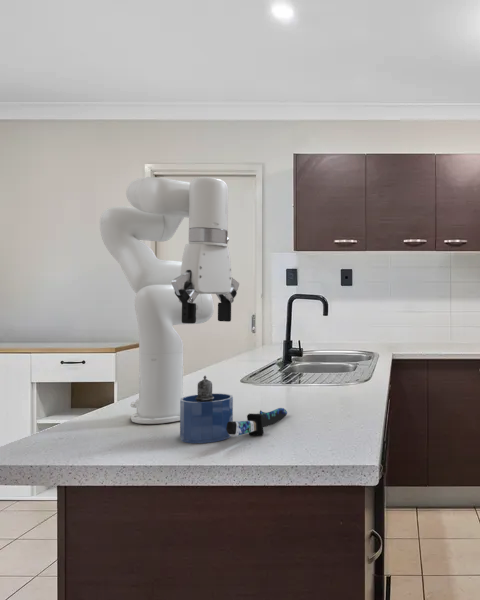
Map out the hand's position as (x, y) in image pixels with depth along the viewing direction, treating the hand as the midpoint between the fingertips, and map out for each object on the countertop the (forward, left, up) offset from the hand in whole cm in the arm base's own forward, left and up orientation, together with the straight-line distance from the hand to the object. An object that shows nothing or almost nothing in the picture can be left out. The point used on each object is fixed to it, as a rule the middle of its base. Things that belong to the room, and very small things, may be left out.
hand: (207, 322), depth 106 cm
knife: (+8, +8, -24) cm, 26 cm away
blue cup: (+1, -1, -23) cm, 23 cm away
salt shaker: (0, -1, -23) cm, 23 cm away
